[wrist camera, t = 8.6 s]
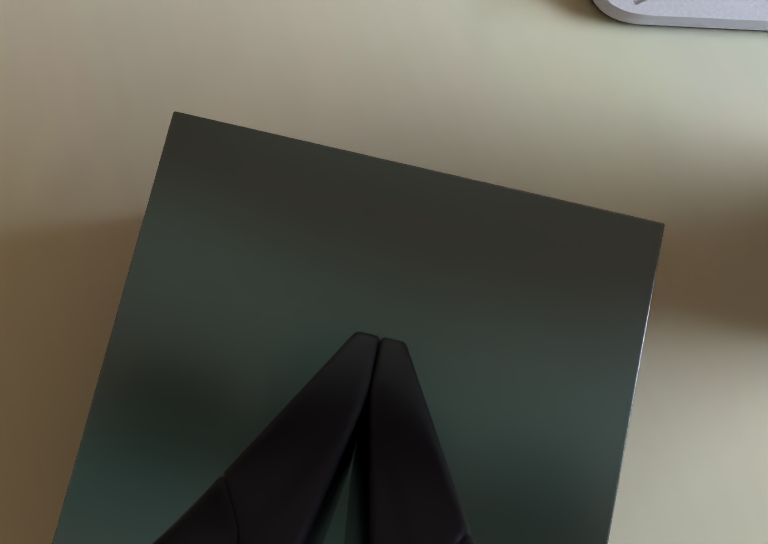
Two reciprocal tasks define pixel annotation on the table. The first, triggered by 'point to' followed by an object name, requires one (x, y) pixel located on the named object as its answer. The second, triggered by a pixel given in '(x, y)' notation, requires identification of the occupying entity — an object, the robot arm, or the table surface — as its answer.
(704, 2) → the handheld gaming device
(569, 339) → the cover
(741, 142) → the table surface
